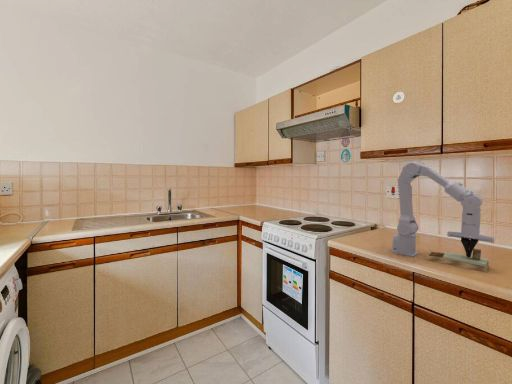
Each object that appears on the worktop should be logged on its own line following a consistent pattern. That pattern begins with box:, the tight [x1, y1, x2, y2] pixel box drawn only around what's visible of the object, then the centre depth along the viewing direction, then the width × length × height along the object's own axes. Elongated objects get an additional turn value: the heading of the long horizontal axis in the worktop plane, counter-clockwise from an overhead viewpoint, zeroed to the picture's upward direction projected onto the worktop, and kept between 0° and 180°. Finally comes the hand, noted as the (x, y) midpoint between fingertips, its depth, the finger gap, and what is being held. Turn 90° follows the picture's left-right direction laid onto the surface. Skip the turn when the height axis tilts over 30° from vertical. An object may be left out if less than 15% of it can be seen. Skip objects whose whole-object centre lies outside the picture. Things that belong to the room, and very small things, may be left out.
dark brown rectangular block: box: [472, 247, 482, 258], centre depth 108 cm, size 2×2×6 cm
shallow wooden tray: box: [425, 250, 490, 273], centre depth 106 cm, size 20×10×2 cm, turn 44°
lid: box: [443, 251, 489, 267], centre depth 104 cm, size 13×9×4 cm
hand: (468, 256), depth 103 cm, fingers closed
